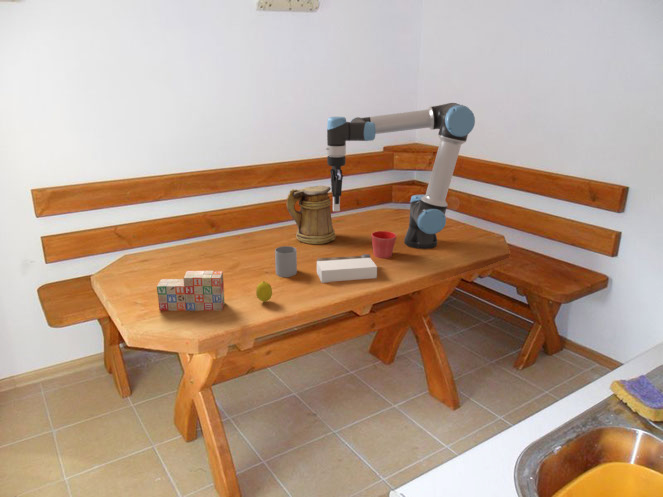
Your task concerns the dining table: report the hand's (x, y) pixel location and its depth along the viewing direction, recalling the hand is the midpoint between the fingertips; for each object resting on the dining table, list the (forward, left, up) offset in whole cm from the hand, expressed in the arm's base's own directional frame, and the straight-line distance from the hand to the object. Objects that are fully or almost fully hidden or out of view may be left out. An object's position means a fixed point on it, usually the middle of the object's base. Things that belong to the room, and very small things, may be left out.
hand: (336, 210), depth 228 cm
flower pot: (-20, +6, -20) cm, 29 cm away
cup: (+24, +18, -20) cm, 36 cm away
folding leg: (0, +17, -19) cm, 26 cm away
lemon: (+35, +43, -20) cm, 59 cm away
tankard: (+7, -21, -20) cm, 30 cm away
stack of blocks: (+60, +41, -20) cm, 75 cm away
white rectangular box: (+1, +25, -20) cm, 32 cm away
